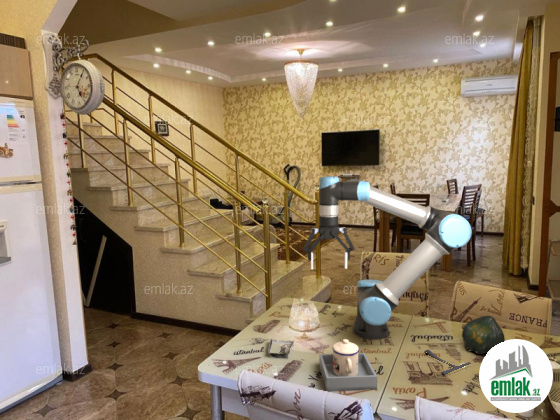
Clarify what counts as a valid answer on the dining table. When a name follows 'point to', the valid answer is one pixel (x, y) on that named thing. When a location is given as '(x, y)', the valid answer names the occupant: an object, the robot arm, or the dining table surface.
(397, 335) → the dining table surface
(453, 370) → the dark grey rake
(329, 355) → the tray
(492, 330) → the squash
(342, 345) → the teacup with lid
